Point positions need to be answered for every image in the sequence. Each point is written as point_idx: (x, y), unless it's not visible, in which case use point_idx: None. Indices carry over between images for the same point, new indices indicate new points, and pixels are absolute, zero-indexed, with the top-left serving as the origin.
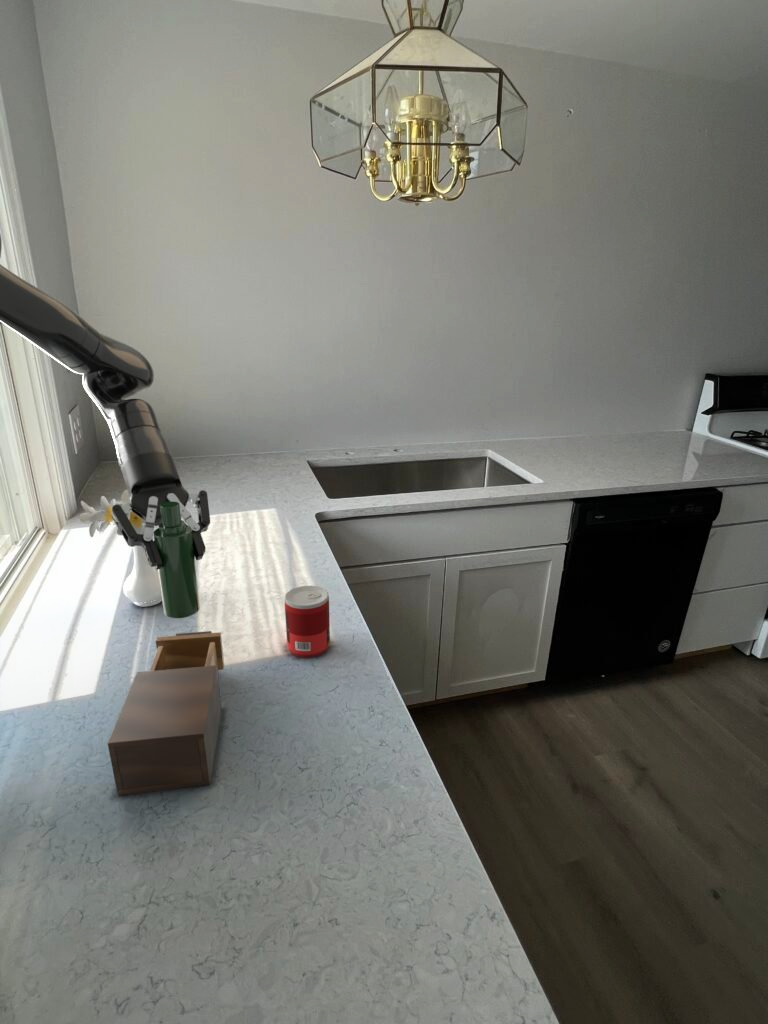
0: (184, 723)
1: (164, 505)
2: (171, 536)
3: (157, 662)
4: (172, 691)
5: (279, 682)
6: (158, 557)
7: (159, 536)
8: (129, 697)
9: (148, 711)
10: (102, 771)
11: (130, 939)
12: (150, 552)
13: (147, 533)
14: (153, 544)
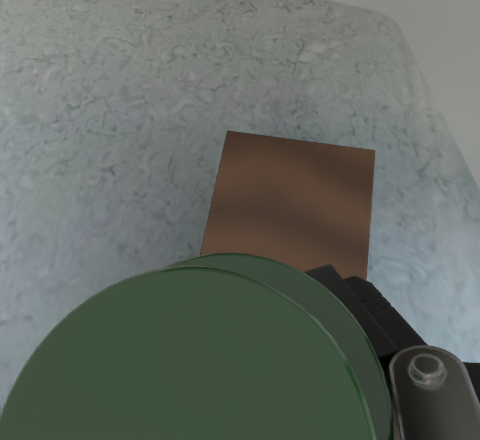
0: (256, 160)
1: (282, 410)
2: (235, 269)
3: None
4: (279, 250)
5: None
6: (325, 281)
7: (328, 294)
8: (361, 257)
9: (319, 206)
10: (382, 246)
11: (309, 39)
12: (378, 316)
13: (443, 397)
14: (369, 338)
